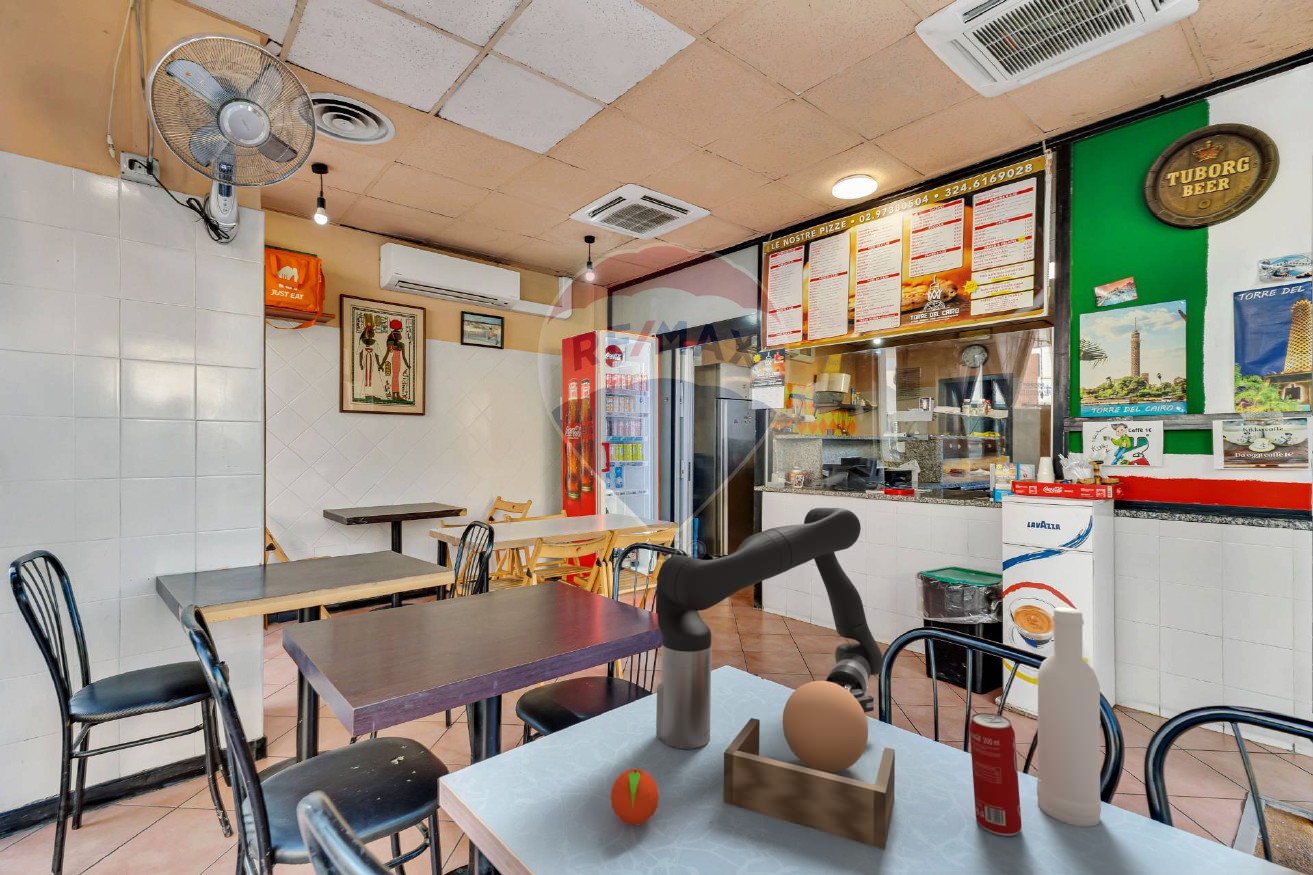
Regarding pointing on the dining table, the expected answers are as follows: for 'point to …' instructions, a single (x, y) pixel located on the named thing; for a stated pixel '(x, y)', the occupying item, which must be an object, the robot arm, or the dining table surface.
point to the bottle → (1069, 728)
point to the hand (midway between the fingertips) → (831, 714)
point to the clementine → (634, 797)
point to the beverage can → (995, 774)
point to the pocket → (809, 792)
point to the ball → (825, 726)
